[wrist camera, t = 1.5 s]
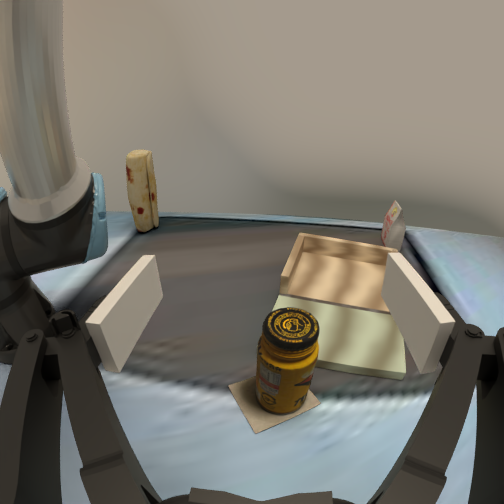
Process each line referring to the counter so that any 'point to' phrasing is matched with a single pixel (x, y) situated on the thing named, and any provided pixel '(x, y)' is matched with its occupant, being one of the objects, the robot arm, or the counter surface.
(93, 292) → the counter surface
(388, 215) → the tea bag
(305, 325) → the condiment
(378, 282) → the open-front wooden tray
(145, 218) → the food model
